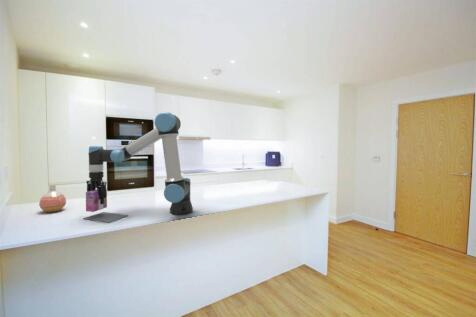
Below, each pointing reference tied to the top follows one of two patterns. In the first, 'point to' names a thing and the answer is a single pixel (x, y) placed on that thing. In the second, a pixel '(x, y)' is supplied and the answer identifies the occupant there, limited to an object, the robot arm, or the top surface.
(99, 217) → the mat
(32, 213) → the top surface
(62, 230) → the top surface
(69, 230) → the top surface
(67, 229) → the top surface
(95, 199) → the box
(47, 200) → the vase
